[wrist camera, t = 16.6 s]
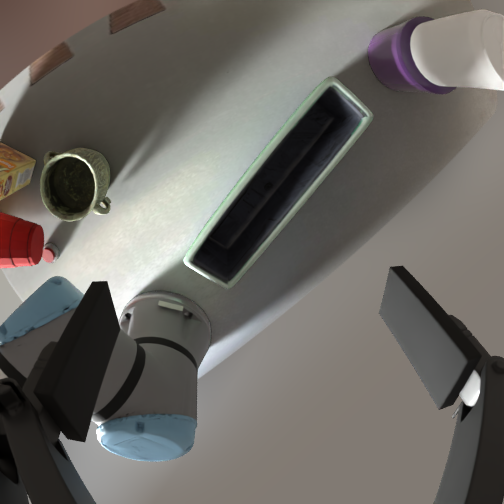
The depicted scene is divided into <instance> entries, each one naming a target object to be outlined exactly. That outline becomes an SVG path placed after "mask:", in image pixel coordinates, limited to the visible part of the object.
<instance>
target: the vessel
mask: <svg viewBox="0 0 504 504" xmlns="http://www.w3.org/2000/svg"><path fill="white" fill-rule="evenodd" d="M51 157H54V158H51ZM44 164H45V167H44V169H43V171H42V174H41V178H40V193H41V196H42V200H43V203H44V204H45V206H46V207H47V209H48V210H49V212H50V213H51V214H52V215H53V216H55V217H57V218H59V219H61V220H65V221H75V220H80V219H82V218H84V217H85V216H87V215H88V214H89V213H90V212H91V211H93V212H94V213H95V214H107V213H109V211H110V203H111V201H110V199H109V198H108V197H105V195H106V193H107V190H108V186H109V183H110V169H109V164H108V162H107V161H106V159H105V157H104V156H103V155H102V154H100V153H99V152H97V151H96V150H91V149H86V148H75V149H72V150H68V151H66V152H64V153H61V152H59V153H57V152H53V151H50V152H47V153H46V154H45V155H44ZM104 197H105V198H104ZM100 203H101V204H103V205H104V207H105V208H106V209H105V208H102V207H101V206H100V205H99V204H100Z"/></svg>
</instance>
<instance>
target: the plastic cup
mask: <svg viewBox="0 0 504 504" xmlns="http://www.w3.org/2000/svg"><path fill="white" fill-rule="evenodd" d="M43 248H44V233H43V229H42V227H41V226H40V225H37V224H36V223H32V222H29V221H25V220H23V219H21V218H18V217H15V216H11V215H8V214H5V213H2V212H0V268H11V267H18V266H32V265H36V264H38V263H39V262H40V260H41V257H42V253H43Z"/></svg>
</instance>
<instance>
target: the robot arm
mask: <svg viewBox="0 0 504 504" xmlns="http://www.w3.org/2000/svg"><path fill="white" fill-rule="evenodd" d="M379 314H380V316H381V317H382V319H383V320H384V322H385V323H386V325H387V326H388V327H389V329H390V331H391V332H392V334H393V335H394V337H395V338H396V340H397V342H398V343H399V345H400V346H401V348H402V349H403V351H404V353H405V354H406V356H407V357H408V359H409V360H410V362H411V364H412V366H413V367H414V369H415V370H416V372H417V374H418V375H419V377H420V379H421V380H422V382H423V383H424V385H425V387H426V389H427V390H428V392H429V394H430V396H431V397H432V399H433V401H434V402H435V404H436V406H437V407H438V409H439V410H440V409H443V408H445V407H448V406H451V405H453V404H454V402H455V401H456V399H457V398H458V396H459V395H460V397H461V398H462V400H463V401H462V402H461V404H460V405H459V407H458V408H457V409H456V411H455V412H454V414H453V416H452V418H454V417H455V416H456V415H457V414H458V417H457V422H456V426H455V431H454V436H453V440H452V444H451V448H450V452H449V456H448V460H447V463H446V467H445V470H444V473H443V477H442V480H441V483H440V486H439V489H438V492H437V495H436V498H435V501H434V504H502V502H503V498H504V358H502V357H500V356H492V357H491V356H490V355H489V354H488V352H487V351H486V350H485V349H484V347H483V346H482V345H481V344H480V343H479V342H478V340H477V339H476V338H475V337H474V336H472V333H471V332H470V331H469V330H467V328H466V326H465V325H464V324H463V323H462V322H461V321H460V320H459V319H457V318H456V317H454V316H453V315H448V314H447V313H446V312H445V311H444V310H443V308H442V307H441V306H440V305H439V304H438V303H437V302H436V301H435V300H434V298H433V297H432V296H431V295H430V294H429V293H428V292H427V291H426V290H425V289H424V288H423V286H422V285H421V284H420V283H419V282H418V281H417V280H416V279H415V278H414V277H413V276H412V275H411V274H410V273H409V272H408V271H407V270H406V269H405V268H404V267H403V266H395V267H390V269H389V274H388V278H387V283H386V287H385V291H384V295H383V300H382V303H381V308H380V311H379ZM210 342H211V327H210V323H209V320H208V318H207V316H206V314H205V313H204V311H203V310H202V309H201V308H200V307H199V306H198V305H197V304H195V303H194V302H193V301H191V300H190V299H188V298H186V297H184V296H182V295H179V294H176V293H172V292H167V291H151V292H146V293H143V294H140V295H138V296H136V297H135V298H133V299H132V300H130V301H129V302H128V303H127V305H126V306H125V308H124V310H123V312H122V315H121V317H120V320H119V322H118V319H117V315H116V312H115V308H114V305H113V301H112V298H111V294H110V290H109V286H108V283H107V281H98V282H92V283H91V285H90V287H89V288H88V290H87V291H86V293H85V295H84V294H83V293H81V292H80V291H79V290H78V289H77V288H76V287H75V286H74V285H73V284H72V283H70V282H69V281H68V280H67V279H66V278H64V277H60V276H55V277H52V278H50V279H48V280H47V281H46V282H45V283H44V284H43V285H41V286H40V287H39V288H38V289H37V290H36V291H35V292H34V293H33V294H32V295H31V296H30V297H29V298H28V299H27V300H25V301H24V302H23V303H22V304H21V305H20V306H19V308H17V309H16V310H15V311H14V312H13V314H11V315H10V317H9V318H8V319H7V320H6V321H5V322H4V323H3V324H2V325H1V326H0V504H29V501H28V496H29V498H30V500H31V503H32V504H96V502H95V501H94V499H93V498H92V496H91V495H90V493H89V491H88V490H87V488H86V486H85V485H84V483H83V481H82V480H81V478H80V476H79V474H78V473H77V471H76V469H75V467H74V465H73V464H72V462H71V460H70V458H69V456H68V454H67V452H66V450H65V448H64V446H63V444H62V442H61V441H60V440H59V439H58V438H59V435H60V431H62V433H63V434H64V435H65V436H66V438H67V439H70V440H75V441H81V442H85V441H86V437H87V433H88V429H89V426H90V422H91V420H92V421H94V422H95V423H97V424H98V425H99V427H98V428H97V437H98V440H99V442H100V443H101V445H102V446H103V447H104V448H106V449H107V450H109V451H111V452H113V453H115V454H117V455H120V456H122V457H126V458H129V459H134V460H140V461H167V460H172V459H176V458H179V457H181V456H183V455H185V454H186V453H188V452H189V451H190V450H191V448H192V447H193V444H194V438H195V429H196V427H197V373H198V368H199V366H200V364H201V362H202V360H203V358H204V356H205V355H206V353H207V351H208V349H209V346H210ZM27 494H28V496H27Z"/></svg>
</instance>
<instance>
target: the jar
mask: <svg viewBox="0 0 504 504" xmlns="http://www.w3.org/2000/svg"><path fill="white" fill-rule="evenodd" d="M431 20H435V19H433V18H429V17H424V16H420V17H415V18H412V19H409V20H408V21H406V22H405V23H402V24H399V25H396V26H393V27H391V28H388V29H385V30H382V31H380V32H378V33H377V34H376V35H375V36H374V37H373V38H372V40H371V42H370V44H369V49H368V58H369V63H370V66H371V68H372V71H373V72H374V74H375V75H376V77H377V78H378V79H379V80H380V82H382V83H383V84H384V85H385V86H387V87H388V88H390V89H392V90H395V91H400V92H428V93H431V94H447V93H450V92H451V91H453V90H454V89H455V88H456V87H447V86H438V85H436V84H434V83H432V82H430V81H429V80H428V79H426V78H425V77H424V76H423V75H422V73H421V72H420V71H419V69H418V68H417V66H416V64H415V62H414V60H413V57H412V53H411V47H410V41H411V35H412V33H413V31H414V29H415V28H416V27H417V26H418V25H419V24H421V23H424V22H428V21H431Z"/></svg>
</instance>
